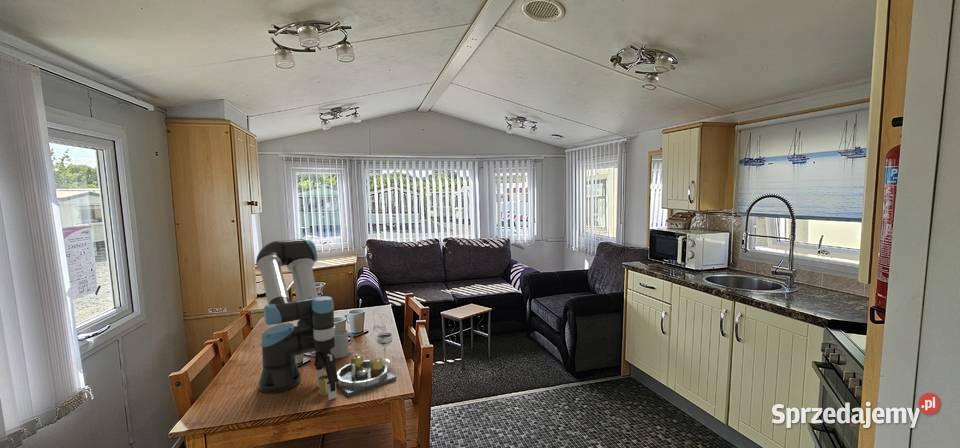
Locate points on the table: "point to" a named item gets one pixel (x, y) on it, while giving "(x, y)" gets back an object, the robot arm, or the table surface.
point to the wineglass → (384, 343)
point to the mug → (341, 343)
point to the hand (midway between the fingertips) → (326, 391)
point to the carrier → (363, 375)
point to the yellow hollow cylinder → (323, 385)
